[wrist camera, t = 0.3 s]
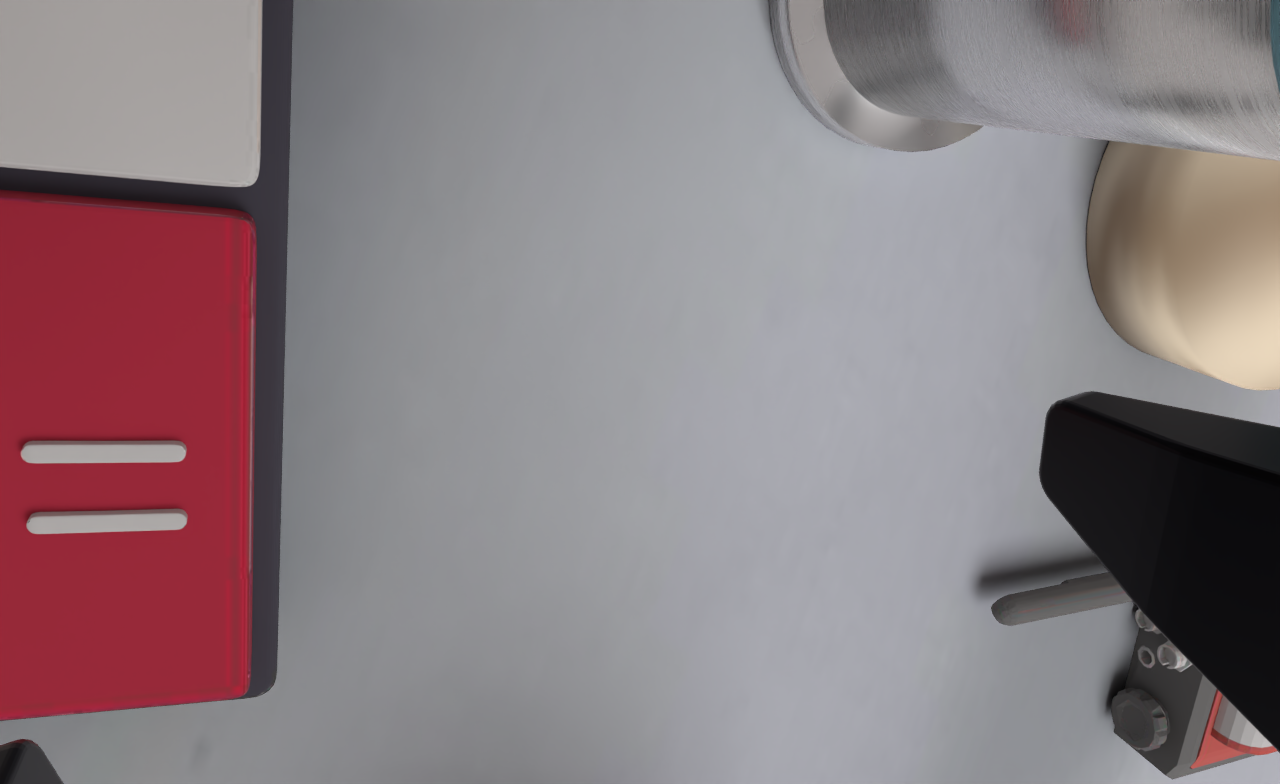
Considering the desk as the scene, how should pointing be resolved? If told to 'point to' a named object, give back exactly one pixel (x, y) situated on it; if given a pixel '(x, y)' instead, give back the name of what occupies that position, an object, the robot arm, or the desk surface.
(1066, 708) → the desk surface
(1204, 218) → the stand
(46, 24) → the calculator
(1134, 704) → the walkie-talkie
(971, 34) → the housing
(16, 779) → the robot arm
